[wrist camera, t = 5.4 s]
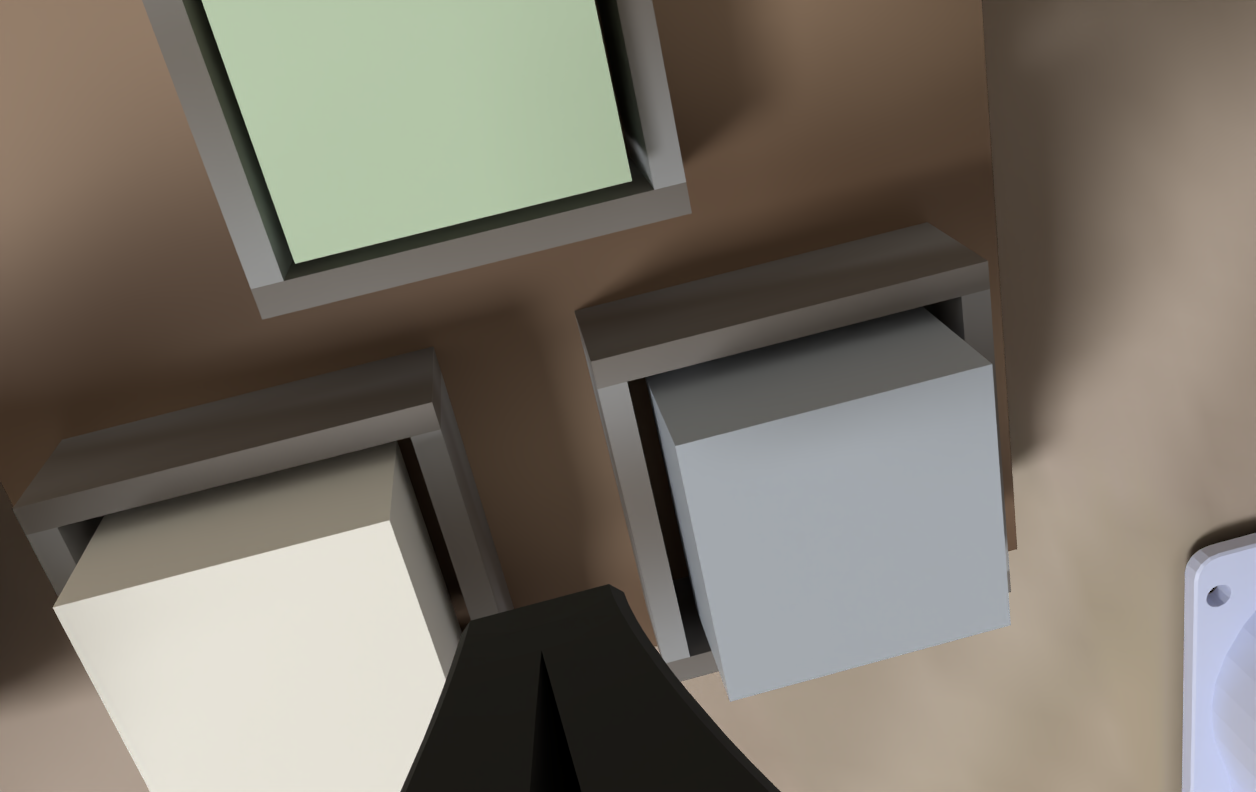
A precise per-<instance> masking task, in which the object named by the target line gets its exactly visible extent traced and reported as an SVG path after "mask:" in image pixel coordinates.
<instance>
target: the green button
mask: <svg viewBox="0 0 1256 792" xmlns="http://www.w3.org/2000/svg"><path fill="white" fill-rule="evenodd" d="M202 3H203V6H204V9H205V11H206V14H207V17H208V20H209V23H210V26H211V28H212V31H213V34H214V37H215V40H216V42H217V45H218V48H219V51H220V54H221V57H222V59H223V62H224V65H225V68H226V71H227V74H228V76H229V79H230V82H231V85H232V88H233V90H234V93H235V96H236V99H237V102H238V105H239V107H240V110H241V113H242V116H243V119H244V121H245V124H246V127H247V130H248V133H249V136H250V138H251V141H252V144H253V147H254V150H255V152H256V155H257V158H258V161H259V164H260V167H261V169H262V172H263V175H264V178H265V181H266V183H267V186H268V189H269V192H270V195H271V198H272V200H273V203H274V206H275V209H276V212H277V215H278V217H279V220H280V223H281V226H282V229H283V231H284V234H285V237H286V240H287V243H288V246H289V248H290V251H291V254H292V257H293V260H294V262H295V264H296V263H300V262H304V261H308V260H312V259H317V258H321V257H325V256H329V255H333V254H337V253H341V252H345V251H349V250H353V249H357V248H361V247H365V246H369V245H374V244H378V243H382V242H386V241H390V240H394V239H398V238H402V237H406V236H410V235H414V234H418V233H422V232H426V231H431V230H435V229H439V228H443V227H447V226H451V225H455V224H459V223H463V222H467V221H471V220H475V219H479V218H484V217H488V216H492V215H496V214H500V213H504V212H508V211H512V210H516V209H520V208H524V207H528V206H532V205H536V204H541V203H545V202H549V201H553V200H557V199H561V198H565V197H569V196H573V195H577V194H581V193H585V192H589V191H593V190H598V189H602V188H606V187H610V186H614V185H618V184H622V183H626V182H630V181H632V178H631V173H630V168H629V164H628V159H627V154H626V149H625V144H624V140H623V135H622V130H621V125H620V120H619V116H618V111H617V106H616V101H615V96H614V92H613V87H612V82H611V77H610V73H609V68H608V63H607V58H606V53H605V49H604V44H603V39H602V34H601V29H600V25H599V20H598V15H597V10H596V5H595V1H594V0H202Z"/></svg>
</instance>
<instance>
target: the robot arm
mask: <svg viewBox="0 0 1256 792" xmlns="http://www.w3.org/2000/svg"><path fill="white" fill-rule="evenodd" d="M1216 586H1217V588H1216V589H1215V590H1214V591H1213V592H1212V593H1210V594H1208V593H1209V592H1210V591H1211V590H1212V588H1214V587H1216ZM400 792H780V791H779V790H778V789H777V788H776V787H775V786H774V785H773V784H772V783H771V782H770V781H769V780H768V779H767V778H766V777H765V776H764V775H763V774H762V773H761V772H760V771H759V770H758V769H757V768H756V767H755V766H754V765H753V764H752V763H751V762H750V761H749V759H748V758H747V757H746V756H745V755H744V754H743V753H742V752H741V751H740V750H739V749H738V748H737V747H736V746H735V745H734V743H733V742H732V741H731V740H730V739H729V738H728V737H727V736H726V735H725V734H724V733H723V731H722V730H721V729H720V728H719V727H718V726H717V724H716V723H715V722H714V721H713V720H712V719H711V717H710V716H709V715H708V714H707V713H706V712H705V711H704V709H703V708H702V707H701V706H700V705H699V704H698V702H697V701H696V700H695V699H694V698H693V697H692V695H691V694H690V693H689V692H688V691H687V690H686V688H685V687H684V686H683V685H682V683H681V682H680V681H679V679H678V678H677V677H676V676H675V674H674V673H673V672H672V671H671V669H670V668H669V666H668V665H667V664H666V662H665V661H664V660H663V658H662V657H661V655H660V654H659V653H658V651H657V650H656V649H655V647H654V646H653V644H652V643H651V641H650V640H649V638H648V637H647V635H646V634H645V632H644V631H643V629H642V627H641V626H640V624H639V622H638V621H637V619H636V617H635V615H634V613H633V612H632V610H631V608H630V606H629V604H628V601H627V599H626V596H625V593H624V592H623V591H621V590H619V589H617V588H616V587H614V586H612V585H610V584H607V585H603V586H599V587H595V588H591V589H588V590H584V591H580V592H576V593H573V594H569V595H565V596H561V597H558V598H554V599H550V600H546V601H542V602H539V603H535V604H531V605H527V606H524V607H520V608H516V609H512V610H509V611H505V612H501V613H497V614H493V615H490V616H486V617H482V618H478V619H475V620H471V621H470V622H469V623H468V625H467V626H466V628H465V629H464V631H463V632H462V634H461V636H460V639H459V642H458V646H457V649H456V652H455V655H454V658H453V661H452V664H451V667H450V670H449V673H448V675H447V678H446V681H445V684H444V687H443V689H442V692H441V695H440V697H439V700H438V703H437V705H436V708H435V710H434V713H433V716H432V718H431V721H430V723H429V726H428V728H427V731H426V733H425V736H424V738H423V741H422V743H421V745H420V748H419V750H418V752H417V755H416V757H415V759H414V761H413V764H412V766H411V768H410V771H409V773H408V775H407V778H406V780H405V782H404V784H403V787H402V789H401V791H400ZM1182 792H1256V533H1253V534H1249V535H1245V536H1242V537H1238V538H1234V539H1231V540H1227V541H1223V542H1220V543H1216V544H1212V545H1209V546H1206V547H1204V548H1202V549H1200V550H1198V551H1197V552H1196V553H1195V554H1194V555H1192V557H1191V558H1190V560H1189V561H1188V563H1187V566H1186V570H1185V607H1184V679H1183V752H1182Z"/></svg>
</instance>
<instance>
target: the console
mask: <svg viewBox="0 0 1256 792" xmlns="http://www.w3.org/2000/svg"><path fill="white" fill-rule="evenodd" d="M594 1H595V5H596V10H597V15H598V20H599V25H600V29H601V34H602V39H603V44H604V49H605V53H606V58H607V63H608V68H609V73H610V77H611V82H612V87H613V92H614V96H615V101H616V106H617V111H618V116H619V120H620V125H621V130H622V135H623V140H624V144H625V149H626V154H627V159H628V164H629V168H630V173H631V178H632V181H630V182H626V183H622V184H618V185H614V186H610V187H606V188H602V189H598V190H593V191H589V192H585V193H581V194H577V195H573V196H569V197H565V198H561V199H557V200H553V201H549V202H545V203H541V204H536V205H532V206H528V207H524V208H520V209H516V210H512V211H508V212H504V213H500V214H496V215H492V216H488V217H484V218H479V219H475V220H471V221H467V222H463V223H459V224H455V225H451V226H447V227H443V228H439V229H435V230H431V231H426V232H422V233H418V234H414V235H410V236H406V237H402V238H398V239H394V240H390V241H386V242H382V243H378V244H374V245H369V246H365V247H361V248H357V249H353V250H349V251H345V252H341V253H337V254H333V255H329V256H325V257H321V258H317V259H312V260H308V261H304V262H300V263H296V264H295V262H294V260H293V257H292V254H291V251H290V248H289V246H288V243H287V240H286V237H285V234H284V231H283V229H282V226H281V223H280V220H279V217H278V215H277V212H276V209H275V206H274V203H273V200H272V198H271V195H270V192H269V189H268V186H267V183H266V181H265V178H264V175H263V172H262V169H261V167H260V164H259V161H258V158H257V155H256V152H255V150H254V147H253V144H252V141H251V138H250V136H249V133H248V130H247V127H246V124H245V121H244V119H243V116H242V113H241V110H240V107H239V105H238V102H237V99H236V96H235V93H234V90H233V88H232V85H231V82H230V79H229V76H228V74H227V71H226V68H225V65H224V62H223V59H222V57H221V54H220V51H219V48H218V45H217V42H216V40H215V37H214V34H213V31H212V28H211V26H210V23H209V20H208V17H207V14H206V11H205V9H204V6H203V3H202V0H0V482H1V484H2V486H3V488H4V490H5V492H6V493H7V495H8V497H9V499H10V501H11V503H12V505H13V508H12V510H13V512H14V514H15V516H16V518H17V520H18V521H19V523H20V525H21V527H22V529H23V531H24V533H25V535H26V537H27V539H28V541H29V542H30V544H31V546H32V548H33V550H34V552H35V554H36V556H37V558H38V560H39V562H40V563H41V565H42V567H43V569H44V571H45V573H46V575H47V577H48V579H49V581H50V583H51V584H52V586H53V588H54V590H55V592H56V594H57V596H58V597H59V595H60V594H61V592H62V590H63V588H64V587H65V585H66V583H67V581H68V579H69V578H70V576H71V574H72V572H73V571H74V569H75V567H76V565H77V563H78V562H79V560H80V558H81V556H82V555H83V553H84V551H85V549H86V547H87V546H88V544H89V542H90V540H91V538H92V537H93V535H94V533H95V531H96V530H97V528H98V526H99V524H100V522H101V521H102V519H103V517H104V515H107V514H111V513H115V512H119V511H123V510H127V509H131V508H135V507H139V506H143V505H147V504H150V503H154V502H158V501H162V500H166V499H170V498H174V497H178V496H182V495H186V494H190V493H194V492H197V491H201V490H205V489H209V488H213V487H217V486H221V485H225V484H229V483H233V482H237V481H241V480H244V479H248V478H252V477H256V476H260V475H264V474H268V473H272V472H276V471H280V470H284V469H287V468H291V467H295V466H299V465H303V464H307V463H311V462H315V461H319V460H323V459H327V458H331V457H334V456H338V455H342V454H346V453H350V452H354V451H358V450H362V449H366V448H370V447H374V446H378V445H381V444H385V443H389V442H393V441H397V442H398V445H399V448H400V451H401V454H402V457H403V460H404V463H405V466H406V469H407V472H408V475H409V478H410V480H411V483H412V486H413V489H414V492H415V495H416V498H417V501H418V504H419V507H420V510H421V513H422V516H423V519H424V522H425V525H426V528H427V531H428V534H429V537H430V540H431V543H432V546H433V549H434V552H435V555H436V558H437V561H438V564H439V567H440V569H441V572H442V575H443V578H444V581H445V584H446V587H447V590H448V593H449V596H450V599H451V602H452V605H453V608H454V611H455V614H456V617H457V620H458V623H459V626H460V629H461V632H463V631H464V629H465V628H466V626H467V625H468V623H469V622H470V621H471V620H475V619H478V618H482V617H486V616H490V615H493V614H497V613H501V612H505V611H509V610H512V609H516V608H520V607H524V606H527V605H531V604H535V603H539V602H542V601H546V600H550V599H554V598H558V597H561V596H565V595H569V594H573V593H576V592H580V591H584V590H588V589H591V588H595V587H599V586H603V585H607V584H610V585H612V586H614V587H616V588H617V589H619V590H621V591H623V592H624V593H625V596H626V599H627V601H628V604H629V606H630V608H631V610H632V612H633V613H634V615H635V617H636V619H637V621H638V622H639V624H640V626H641V627H642V629H643V631H644V632H645V634H646V635H647V637H648V638H649V640H650V641H651V643H652V644H653V646H658V648H659V652H660V655H661V657H662V658H663V660H664V661H665V662H666V664H667V665H668V666H669V668H670V669H671V671H672V672H673V673H674V674H675V676H676V677H677V678H678V679H679V681H680V682H681V681H684V680H688V679H692V678H695V677H699V676H703V675H706V674H710V673H714V672H718V671H719V670H718V667H717V664H716V662H715V659H714V656H713V653H712V651H711V648H710V645H709V642H708V640H707V637H706V634H705V631H704V629H703V626H702V623H701V620H700V618H699V615H698V612H697V609H696V605H695V601H694V596H693V592H692V587H691V583H690V578H689V574H688V569H687V564H686V560H685V555H684V551H683V546H682V542H681V537H680V533H679V528H678V524H677V519H676V515H675V510H674V506H673V501H672V496H671V492H670V487H669V483H668V478H667V474H666V469H665V465H664V460H663V456H662V451H661V447H660V442H659V438H658V433H657V429H656V424H655V419H654V415H653V410H652V406H651V401H650V397H649V392H648V388H647V383H646V379H645V377H648V376H651V375H655V374H659V373H663V372H667V371H671V370H675V369H679V368H683V367H687V366H691V365H695V364H698V363H702V362H706V361H710V360H714V359H718V358H722V357H726V356H730V355H734V354H738V353H742V352H745V351H749V350H753V349H757V348H761V347H765V346H769V345H773V344H777V343H781V342H785V341H788V340H792V339H796V338H800V337H804V336H808V335H812V334H816V333H820V332H824V331H828V330H832V329H835V328H839V327H843V326H847V325H851V324H855V323H859V322H863V321H867V320H871V319H875V318H879V317H882V316H886V315H890V314H894V313H898V312H902V311H906V310H910V309H914V308H918V307H922V306H923V307H924V308H925V309H926V310H927V311H929V312H930V313H931V314H932V315H933V316H935V317H936V318H937V319H938V320H940V321H941V322H942V323H943V324H944V325H946V326H947V327H948V328H949V329H950V330H952V331H953V332H954V333H955V334H957V335H958V336H959V337H960V338H961V339H963V340H964V341H965V342H966V343H967V344H969V345H970V346H971V347H972V348H974V349H975V350H976V351H977V352H978V353H980V354H981V355H982V356H983V357H984V358H986V359H987V360H988V361H989V362H990V363H992V367H993V381H994V396H995V410H996V424H997V438H998V452H999V467H1000V481H1001V495H1002V509H1003V524H1004V538H1005V552H1006V566H1007V581H1008V593H1009V592H1011V586H1010V572H1009V558H1008V551H1011V550H1015V549H1017V539H1016V524H1015V508H1014V493H1013V477H1012V462H1011V447H1010V431H1009V416H1008V400H1007V385H1006V369H1005V354H1004V338H1003V323H1002V308H1001V292H1000V277H999V261H998V246H997V230H996V215H995V199H994V184H993V169H992V153H991V138H990V122H989V107H988V91H987V76H986V60H985V45H984V30H983V14H982V0H594Z"/></svg>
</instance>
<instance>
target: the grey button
mask: <svg viewBox="0 0 1256 792" xmlns="http://www.w3.org/2000/svg"><path fill="white" fill-rule="evenodd" d="M645 379H646V383H647V388H648V392H649V397H650V401H651V406H652V410H653V415H654V419H655V424H656V429H657V433H658V438H659V442H660V447H661V451H662V456H663V460H664V465H665V469H666V474H667V478H668V483H669V487H670V492H671V496H672V501H673V506H674V510H675V515H676V519H677V524H678V528H679V533H680V537H681V542H682V546H683V551H684V555H685V560H686V564H687V569H688V574H689V578H690V583H691V587H692V592H693V596H694V601H695V605H696V609H697V612H698V615H699V618H700V620H701V623H702V626H703V629H704V631H705V634H706V637H707V640H708V642H709V645H710V648H711V651H712V653H713V656H714V659H715V662H716V664H717V667H718V670H719V673H720V675H721V678H722V681H723V684H724V686H725V689H726V692H727V695H728V698H729V700H730V702H731V701H734V700H738V699H742V698H745V697H749V696H752V695H756V694H760V693H763V692H767V691H771V690H774V689H778V688H782V687H785V686H789V685H793V684H796V683H800V682H804V681H807V680H811V679H815V678H818V677H822V676H826V675H829V674H833V673H837V672H840V671H844V670H848V669H851V668H855V667H859V666H862V665H866V664H870V663H873V662H877V661H881V660H884V659H888V658H892V657H895V656H899V655H903V654H906V653H910V652H914V651H917V650H921V649H925V648H928V647H932V646H936V645H939V644H943V643H947V642H950V641H954V640H958V639H961V638H965V637H969V636H972V635H976V634H980V633H983V632H987V631H991V630H994V629H998V628H1002V627H1005V626H1009V625H1011V623H1010V609H1009V595H1008V581H1007V566H1006V552H1005V538H1004V524H1003V509H1002V495H1001V481H1000V467H999V452H998V438H997V424H996V410H995V396H994V381H993V367H992V363H990V362H989V361H988V360H987V359H986V358H984V357H983V356H982V355H981V354H980V353H978V352H977V351H976V350H975V349H974V348H972V347H971V346H970V345H969V344H967V343H966V342H965V341H964V340H963V339H961V338H960V337H959V336H958V335H957V334H955V333H954V332H953V331H952V330H950V329H949V328H948V327H947V326H946V325H944V324H943V323H942V322H941V321H940V320H938V319H937V318H936V317H935V316H933V315H932V314H931V313H930V312H929V311H927V310H926V309H925V308H924V307H923V306H922V307H918V308H914V309H910V310H906V311H902V312H898V313H894V314H890V315H886V316H882V317H879V318H875V319H871V320H867V321H863V322H859V323H855V324H851V325H847V326H843V327H839V328H835V329H832V330H828V331H824V332H820V333H816V334H812V335H808V336H804V337H800V338H796V339H792V340H788V341H785V342H781V343H777V344H773V345H769V346H765V347H761V348H757V349H753V350H749V351H745V352H742V353H738V354H734V355H730V356H726V357H722V358H718V359H714V360H710V361H706V362H702V363H698V364H695V365H691V366H687V367H683V368H679V369H675V370H671V371H667V372H663V373H659V374H655V375H651V376H648V377H645Z"/></svg>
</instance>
